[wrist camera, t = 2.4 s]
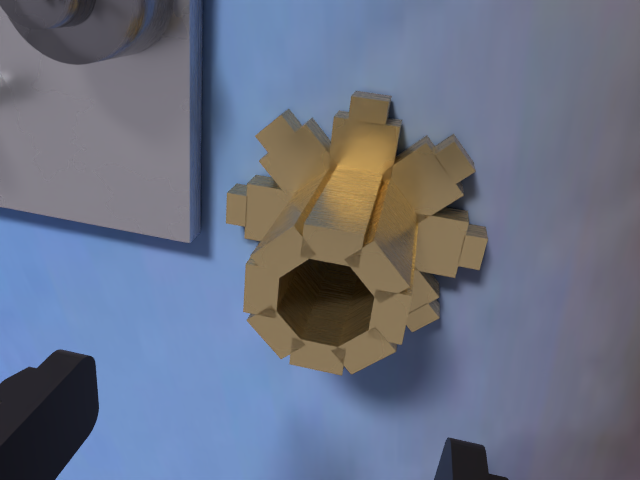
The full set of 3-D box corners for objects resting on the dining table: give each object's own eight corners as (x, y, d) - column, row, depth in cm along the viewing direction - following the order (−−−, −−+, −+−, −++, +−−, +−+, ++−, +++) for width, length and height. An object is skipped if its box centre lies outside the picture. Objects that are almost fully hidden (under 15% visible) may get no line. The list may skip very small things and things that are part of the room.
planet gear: (515, 114, 20) (551, 169, 14) (453, 345, 25) (459, 465, 18) (240, 73, 21) (159, 108, 15) (231, 300, 26) (167, 397, 20)
